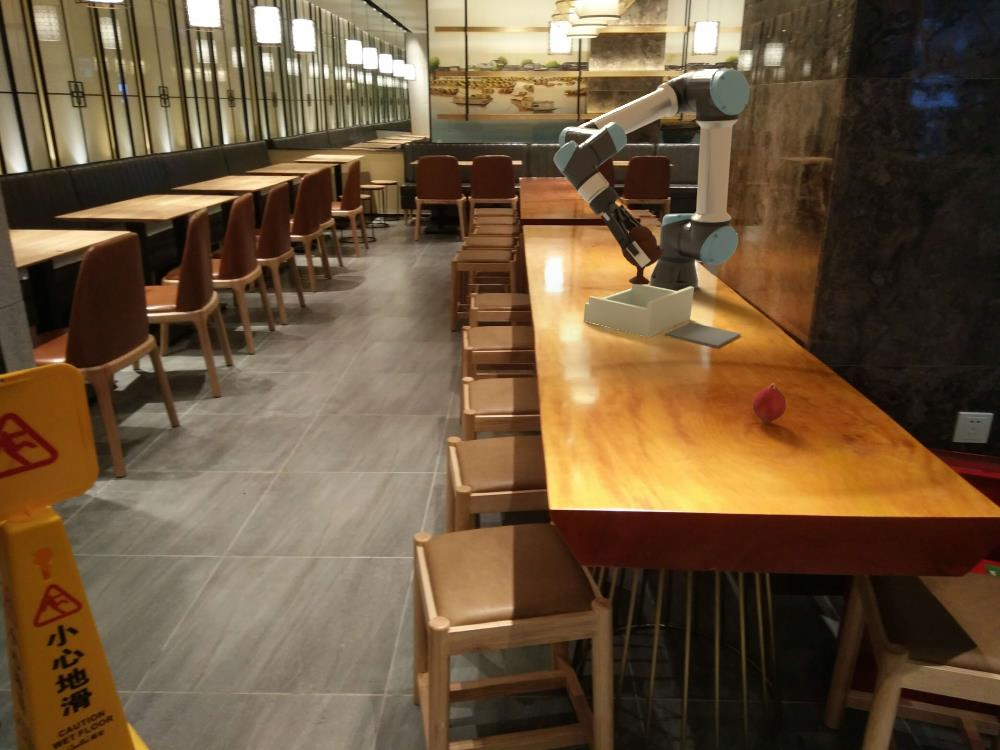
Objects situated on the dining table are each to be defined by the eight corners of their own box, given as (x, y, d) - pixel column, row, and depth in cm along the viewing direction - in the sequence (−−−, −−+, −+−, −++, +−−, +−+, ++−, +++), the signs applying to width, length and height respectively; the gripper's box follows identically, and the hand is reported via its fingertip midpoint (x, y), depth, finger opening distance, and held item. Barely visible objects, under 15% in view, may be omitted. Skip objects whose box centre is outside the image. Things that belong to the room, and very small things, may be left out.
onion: (744, 416, 141) (751, 377, 138) (774, 416, 142) (781, 377, 139) (757, 429, 136) (764, 388, 133) (787, 429, 136) (795, 388, 133)
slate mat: (690, 324, 199) (690, 322, 198) (740, 335, 190) (740, 333, 190) (665, 335, 188) (665, 333, 188) (717, 347, 180) (717, 345, 180)
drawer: (628, 305, 215) (631, 274, 212) (690, 319, 203) (694, 287, 200) (583, 321, 198) (586, 288, 195) (648, 337, 186) (651, 302, 183)
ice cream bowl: (660, 288, 191) (666, 230, 185) (617, 285, 193) (621, 227, 187) (660, 279, 201) (666, 223, 195) (619, 276, 203) (623, 220, 197)
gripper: (601, 199, 206) (651, 260, 205) (573, 210, 186) (629, 278, 185) (622, 180, 202) (672, 243, 201) (595, 189, 182) (652, 259, 181)
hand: (651, 260), depth 193 cm, fingers closed on ice cream bowl, 11 cm apart
